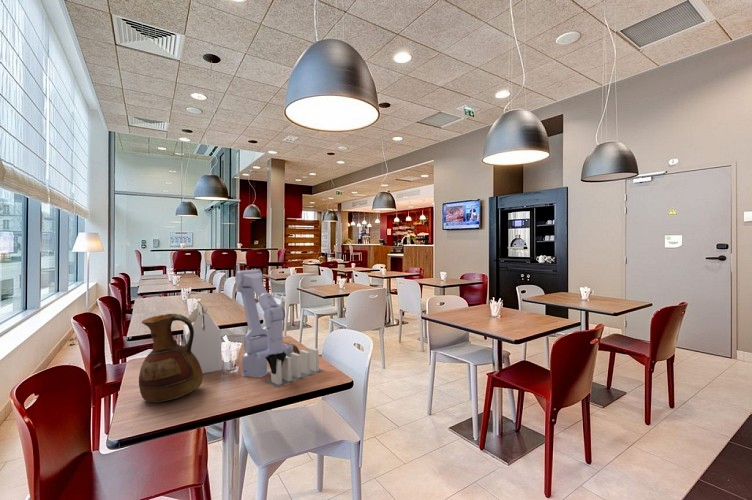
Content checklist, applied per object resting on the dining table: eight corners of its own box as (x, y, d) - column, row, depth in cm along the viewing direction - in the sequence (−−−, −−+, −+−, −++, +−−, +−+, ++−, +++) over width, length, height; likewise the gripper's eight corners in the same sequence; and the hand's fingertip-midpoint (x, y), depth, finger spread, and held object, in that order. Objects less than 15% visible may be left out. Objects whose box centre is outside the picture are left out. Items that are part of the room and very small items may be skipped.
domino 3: (298, 378, 144) (297, 355, 144) (290, 375, 148) (290, 353, 148) (301, 377, 146) (300, 354, 145) (294, 374, 149) (293, 352, 149)
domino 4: (307, 374, 148) (306, 353, 147) (300, 372, 151) (299, 350, 151) (310, 373, 149) (309, 352, 149) (303, 371, 152) (302, 349, 152)
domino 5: (316, 371, 151) (315, 350, 151) (308, 369, 154) (308, 348, 154) (318, 370, 152) (318, 349, 152) (311, 368, 155) (311, 347, 155)
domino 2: (288, 381, 141) (287, 358, 141) (281, 378, 145) (280, 356, 144) (291, 380, 142) (291, 357, 142) (284, 377, 146) (283, 355, 145)
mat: (276, 388, 136) (276, 387, 136) (265, 383, 141) (265, 382, 141) (324, 371, 152) (324, 370, 152) (312, 367, 158) (312, 366, 158)
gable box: (222, 370, 157) (220, 306, 156) (188, 376, 150) (185, 309, 149) (215, 356, 176) (213, 299, 175) (184, 362, 169) (182, 302, 168)
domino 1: (278, 384, 138) (277, 361, 138) (271, 381, 141) (270, 358, 141) (281, 383, 139) (281, 360, 139) (274, 380, 142) (274, 357, 142)
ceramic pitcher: (141, 392, 135) (138, 312, 134) (201, 381, 145) (198, 306, 144) (137, 413, 118) (133, 322, 117) (205, 399, 128) (202, 315, 127)
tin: (300, 363, 164) (300, 344, 164) (295, 365, 161) (295, 346, 161) (277, 357, 172) (277, 340, 172) (272, 359, 169) (271, 342, 169)
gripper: (263, 343, 132) (264, 380, 132) (297, 335, 142) (297, 369, 143) (253, 340, 136) (254, 376, 137) (286, 332, 147) (287, 365, 147)
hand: (276, 372), depth 140 cm, fingers closed on domino 1
